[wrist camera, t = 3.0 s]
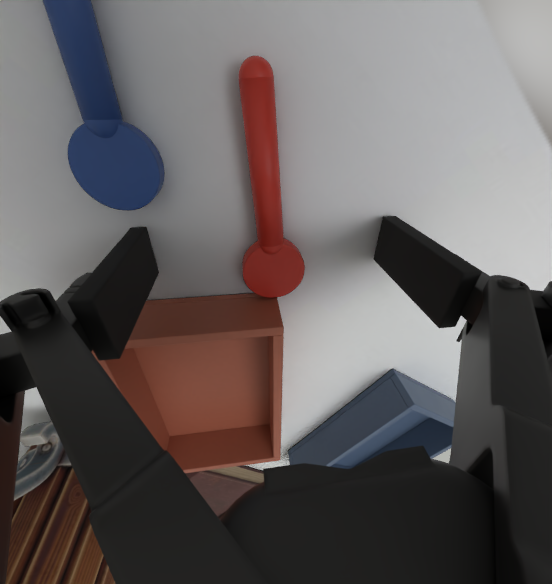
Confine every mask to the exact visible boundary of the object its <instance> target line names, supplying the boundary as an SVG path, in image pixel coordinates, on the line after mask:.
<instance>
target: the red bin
mask: <svg viewBox="0 0 552 584" xmlns="http://www.w3.org/2000/svg"><path fill="white" fill-rule="evenodd" d="M283 331H284V327H283V322H282V318H281V314H280V309H279V305H278V300H277V297H274V298H268V297H263V296H260V295H258V294H256V293H248V294H234V295H220V296H205V297H191V298H177V299H162V300H148V301H146V302H145V304H144V307H143V309H142V311H141V313H140V315H139V318H138V320H137V322H136V324H135V327H134V329H133V331H132V333H131V335H130V338H129V340H128V342H127V344H126V346H125V349H124V351H123V353H122V355H121V358H120V359H112V360H101V361H98V359H97V357H96V355H95V353H94V351H93V350H92V352H91V353H92V354H93V355H94V357H95V358H96V359H97V361H98V362H99V363H100V365H101V366H102V368H103V369H104V370H105V372H106V373H107V374H108V376H109V377H110V378H111V380H112V381H113V382H114V384H115V385H116V387H117V388H118V389H119V391H120V392H121V393H122V395H123V396H124V397H125V399H126V400H127V401H128V403H129V404H130V406H131V407H132V408H133V410H134V411H135V412H136V414H137V415H138V416H139V418H140V419H141V420H142V422H143V423H144V424H145V426H146V427H147V429H148V430H149V431H150V433H151V434H152V435H153V437H154V438H155V439H156V441H157V442H158V443H159V445H160V446H161V447H162V449H163V450H167V451H168V452H169V453H170V454H171V456H172V457H173V458H174V459H175V461H176V462H177V463H178V465H179V466H180V467H181V469H182V470H183V471H184V473H191V472H198V471H205V470H213V469H220V468H227V467H234V466H242V465H249V464H256V463H263V462H270V461H278V460H280V449H281V409H282V369H283Z"/></svg>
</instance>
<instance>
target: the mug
mask: <svg viewBox="0 0 552 584" xmlns="http://www.w3.org/2000/svg"><path fill="white" fill-rule="evenodd" d="M20 442H21V443H22V444H23V445H24V446H25V447H26V446H31V447H30V449H29V450H28V451H27V453H26V454H25V455H24V456H23V457H22V458H21V459H20V461H19V463H18V465H17V474H16V484H15V494H14V504H13V514H12V524H11V534H10V544H9V554H8V564H7V574H6V584H116V583H115V581H114V579H113V576H112V574H111V572H110V569H109V567H108V565H107V562H106V560H105V558H104V555H103V553H102V551H101V548H100V546H99V544H98V541H97V539H96V537H95V534H94V532H93V529H92V526H91V524H90V519H89V515H90V513H91V508H90V506H89V503H88V501H87V499H86V496H85V494H84V492H83V490H82V487H81V485H80V483H79V481H78V479H77V476H76V474H75V472H74V470H73V467H72V465H71V463H70V461H69V458H68V456H67V454H66V452H65V449H64V447H63V445H62V443H61V441H60V438H59V436H58V434H57V432H56V429H55V427H54V425H53V423H52V422H46V423H39V424H34V425H31V426H29V427H27V428H26V429H25V430H24V431H23V432H22V433H21V435H20Z"/></svg>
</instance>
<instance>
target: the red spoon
mask: <svg viewBox="0 0 552 584" xmlns="http://www.w3.org/2000/svg"><path fill="white" fill-rule="evenodd" d="M239 87H240V96H241V104H242V112H243V121H244V129H245V137H246V145H247V154H248V162H249V170H250V179H251V187H252V195H253V204H254V212H255V220H256V229H257V237H258V241H257V242H255V243H254V244H253V245H251V246H250V247H249V249H248V250H247V251H246V253H245V255H244V258H243V262H242V269H243V278H244V281H245V283H246V285H247V286H248V288H249V289H250V290H251V291H253V292H254V293H256V294H258V295H260V296H263V297H268V298H274V297H281V296H284V295H286V294H288V293H290V292H292V291H293V290H294V289H295V288H296V287H297V286H298V285H299V284H300V282H301V280H302V278H303V276H304V270H305V267H304V261H303V259H302V256H301V254H300V252H299V250H298V249H297V247H296V246H295V245H294V244H293V243H291V242H290V241H288V240H286V239H284V237H283V220H282V204H281V188H280V172H279V155H278V139H277V123H276V107H275V90H274V76H273V71H272V68H271V66H270V64H269V63H268V62H267V61H266V60H265V59H264V58H262V57H260V56H251V57H249V58H247V59H246V60H245V61H244V62H243V63H242V65H241V67H240V70H239Z"/></svg>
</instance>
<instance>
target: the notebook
mask: <svg viewBox="0 0 552 584" xmlns="http://www.w3.org/2000/svg"><path fill="white" fill-rule="evenodd" d="M185 474H186V475H187V477H188V478H189V479H190V481H191V482H192V483H193V485H194V486H195V487H196V489H197V490H198V491H199V493H200V494H201V495H202V497H203V498H204V499H205V501H206V502H207V503H208V505H209V506H210V507H211V509H212V510H213V511H214V513H215V514H216V515H217V517H218V518H219V519H221V518H222V516H223V515H224V514H225V512H226V511H227V510H228V509H229V507H230V506H231V505H232V504H233V503H234V502H235V501H236V500H237V499H238V498H239V497H240V496H242V495H243V494H244V493H245V492H247V491H248V490H250V489H251V488H253V487H254V486H256V485H258V484H260V483H262V482H264V473H263V471H260V470H257V469H253V468H250V467H246V466H243V465H242V466H234V467H227V468H220V469H213V470H205V471H198V472H191V473H185Z"/></svg>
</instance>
